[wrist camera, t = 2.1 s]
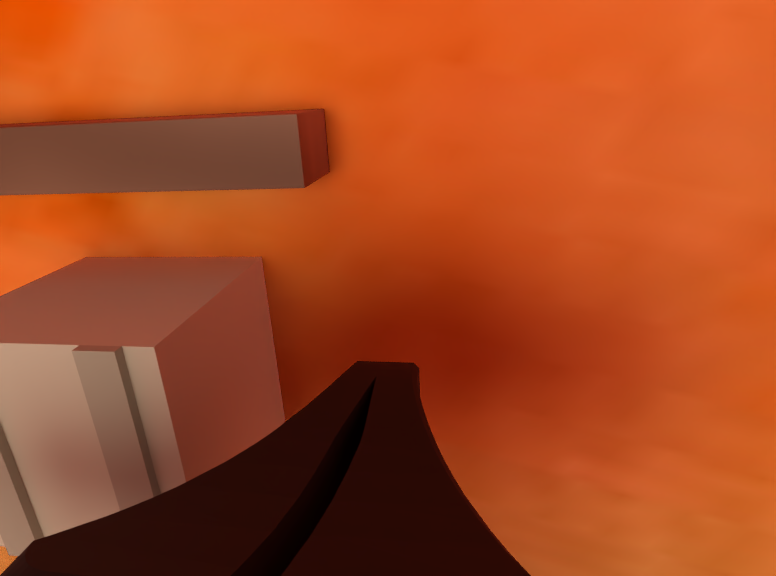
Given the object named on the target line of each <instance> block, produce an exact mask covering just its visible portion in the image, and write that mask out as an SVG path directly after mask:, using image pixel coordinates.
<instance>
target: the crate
mask: <svg viewBox="0 0 776 576" xmlns="http://www.w3.org/2000/svg"><path fill="white" fill-rule="evenodd" d="M284 422H285V416H284V409H283V402H282V395H281V388H280V381H279V374H278V368H277V361H276V354H275V347H274V340H273V333H272V326H271V319H270V312H269V305H268V298H267V291H266V284H265V277H264V271H263V264H262V257H85V258H83V259H81V260H79V261H77V262H74V263H72V264H70V265H68V266H66V267H63V268H61V269H59V270H57V271H55V272H53V273H50V274H48V275H46V276H44V277H42V278H39V279H37V280H35V281H33V282H31V283H28V284H26V285H24V286H22V287H20V288H18V289H15V290H13V291H11V292H9V293H7V294H4V295H2V296H0V546H5V547H6V550H7V552H8V554H9V555H12V556H19V555H20V554H21V553H22V552H23V551H24V550H25V549H26V548H27V547H28V546H29V545H30V544H31V543H32V542H33V541H34V540H37V539H40V538H43V537H47V536H50V535H53V534H56V533H59V532H62V531H65V530H67V529H70V528H73V527H76V526H79V525H82V524H85V523H88V522H91V521H94V520H97V519H100V518H103V517H105V516H108V515H111V514H113V513H116V512H119V511H121V510H124V509H126V508H129V507H131V506H134V505H136V504H138V503H141V502H143V501H146V500H148V499H151V498H153V497H155V496H157V495H160V494H162V493H164V492H166V491H168V490H171V489H173V488H175V487H177V486H179V485H181V484H183V483H185V482H187V481H189V480H191V479H193V478H195V477H197V476H199V475H201V474H203V473H205V472H207V471H208V470H210V469H212V468H214V467H216V466H218V465H220V464H222V463H224V462H226V461H227V460H229V459H231V458H233V457H234V456H236V455H237V454H239V453H241V452H242V451H244V450H246V449H247V448H249V447H250V446H252V445H254V444H255V443H257V442H258V441H260V440H261V439H263V438H264V437H266V436H267V435H269V434H270V433H271V432H273V431H274V430H276V429H277V428H278V427H280V426H281V425H282V424H283V423H284Z"/></svg>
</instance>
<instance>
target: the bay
mask: <svg viewBox="0 0 776 576" xmlns="http://www.w3.org/2000/svg"><path fill="white" fill-rule="evenodd" d="M328 172H329V162H328V151H327V139H326V128H325V117H324V109H312V110H291V111H270V112H249V113H228V114H207V115H186V116H165V117H144V118H124V119H103V120H82V121H61V122H40V123H19V124H0V195H29V194H71V193H113V192H154V191H196V190H238V189H280V188H305V187H307V186H308V185H310V184H311V183H313V182H314V181H316V180H318V179H319V178H321V177H322V176H324V175H325V174H327V173H328Z"/></svg>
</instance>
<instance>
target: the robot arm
mask: <svg viewBox="0 0 776 576" xmlns="http://www.w3.org/2000/svg"><path fill="white" fill-rule="evenodd" d="M0 576H531V575H530V574H529V573H528V572H527V571H526V570H525V569H524V568H523V567H522V566H521V565H520V564H519V563H518V562H517V561H516V560H515V558H514V557H513V556H512V555H511V554H510V553H509V552H508V551H507V549H506V548H505V547H504V546H503V545H502V544H501V542H500V541H499V540H498V539H497V538H496V536H495V535H494V534H493V533H492V532H491V531H490V529H489V528H488V527H487V525H486V524H485V522H484V521H483V520H482V518H481V517H480V516H479V514H478V513H477V511H476V510H475V509H474V507H473V506H472V505H471V503H470V502H469V500H468V499H467V498H466V496H465V495H464V493H463V492H462V490H461V488H460V487H459V485H458V483H457V482H456V480H455V479H454V477H453V475H452V473H451V472H450V470H449V468H448V466H447V464H446V463H445V461H444V459H443V457H442V455H441V453H440V450H439V448H438V446H437V444H436V442H435V439H434V437H433V435H432V432H431V430H430V427H429V425H428V422H427V419H426V416H425V413H424V409H423V406H422V403H421V399H420V383H419V368H418V367H417V366H416V365H415V364H414V363H401V362H368V361H357V362H356V363H355V364H354V365H352V366H351V367H350V368H349V369H348V370H347V371H346V372H345V373H343V374H342V375H341V376H340V377H339V378H338V379H337V380H336V381H335V382H333V383H332V384H331V385H330V386H329V387H328V388H327V389H326V390H324V391H323V392H322V393H321V394H320V395H319V396H317V397H316V398H315V399H314V400H313V401H312V402H310V403H309V404H308V405H307V406H306V407H304V408H303V409H302V410H300V411H299V412H298V413H297V414H295V415H294V416H293V417H291V418H290V419H289V420H287V421H286V422H285V423H283V424H282V425H281V426H280V427H278V428H277V429H276V430H274V431H273V432H271V433H270V434H269V435H267V436H266V437H264V438H263V439H261V440H260V441H258V442H257V443H255V444H254V445H252V446H250V447H249V448H247V449H246V450H244V451H242V452H241V453H239V454H237V455H236V456H234V457H233V458H231V459H229V460H227V461H226V462H224V463H222V464H220V465H218V466H216V467H214V468H212V469H210V470H208V471H207V472H205V473H203V474H201V475H199V476H197V477H195V478H193V479H191V480H189V481H187V482H185V483H183V484H181V485H179V486H177V487H175V488H173V489H171V490H168V491H166V492H164V493H162V494H160V495H157V496H155V497H153V498H151V499H148V500H146V501H143V502H141V503H138V504H136V505H134V506H131V507H129V508H126V509H124V510H121V511H119V512H116V513H113V514H111V515H108V516H105V517H103V518H100V519H97V520H94V521H91V522H88V523H85V524H82V525H79V526H76V527H73V528H70V529H67V530H65V531H62V532H59V533H56V534H53V535H50V536H47V537H43V538H40V539H37V540H34V541H33V542H32V543H31V544H30V545H29V546H28V547H27V548H26V549H25V550H24V551H23V552H22V553H21V554H20V555H19V556H18V557H17V558H16V559H15V560H14V561H13V563H12V564H11V565H10V566H9V567H8V568H7V569H6V570H5V571H4V572H3V573H2V574H1V575H0Z"/></svg>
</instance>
